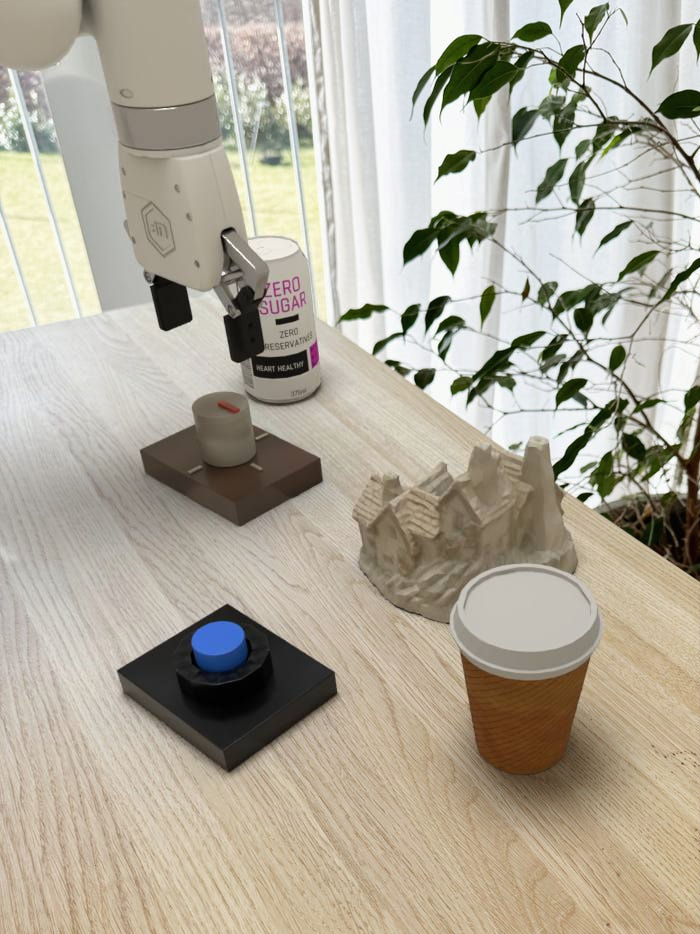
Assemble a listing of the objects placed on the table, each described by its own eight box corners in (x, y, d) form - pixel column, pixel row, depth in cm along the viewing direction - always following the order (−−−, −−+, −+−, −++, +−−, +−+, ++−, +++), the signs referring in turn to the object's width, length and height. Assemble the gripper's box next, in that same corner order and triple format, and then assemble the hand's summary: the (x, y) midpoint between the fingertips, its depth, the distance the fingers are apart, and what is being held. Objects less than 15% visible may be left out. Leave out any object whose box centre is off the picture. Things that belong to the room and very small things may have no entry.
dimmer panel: (145, 472, 95) (138, 448, 94) (228, 432, 101) (223, 408, 99) (239, 527, 89) (235, 501, 87) (323, 480, 94) (320, 456, 93)
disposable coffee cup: (424, 734, 70) (417, 599, 62) (526, 674, 74) (532, 541, 66) (515, 817, 64) (521, 680, 56) (619, 746, 69) (638, 611, 61)
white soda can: (278, 364, 113) (258, 227, 103) (337, 382, 109) (322, 242, 100) (229, 394, 107) (203, 252, 98) (289, 413, 104) (269, 269, 94)
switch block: (123, 692, 73) (109, 651, 70) (231, 624, 79) (223, 584, 76) (228, 773, 67) (218, 731, 64) (338, 693, 73) (332, 652, 70)
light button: (185, 658, 70) (180, 639, 69) (226, 632, 72) (222, 614, 71) (217, 681, 68) (213, 662, 67) (258, 654, 71) (255, 635, 69)
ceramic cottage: (604, 564, 84) (605, 399, 74) (456, 657, 76) (436, 487, 67) (481, 498, 93) (468, 344, 84) (337, 575, 86) (305, 415, 76)
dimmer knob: (190, 454, 93) (179, 402, 90) (233, 434, 96) (223, 382, 92) (225, 473, 91) (214, 420, 87) (267, 451, 93) (259, 399, 90)
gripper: (59, 115, 77) (115, 328, 88) (200, 156, 68) (242, 386, 80) (141, 95, 81) (185, 301, 92) (283, 131, 73) (312, 354, 84)
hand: (211, 340), depth 86 cm, fingers open, 9 cm apart
